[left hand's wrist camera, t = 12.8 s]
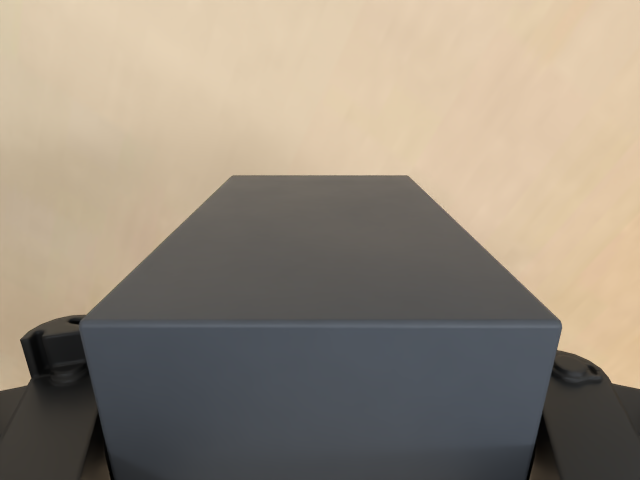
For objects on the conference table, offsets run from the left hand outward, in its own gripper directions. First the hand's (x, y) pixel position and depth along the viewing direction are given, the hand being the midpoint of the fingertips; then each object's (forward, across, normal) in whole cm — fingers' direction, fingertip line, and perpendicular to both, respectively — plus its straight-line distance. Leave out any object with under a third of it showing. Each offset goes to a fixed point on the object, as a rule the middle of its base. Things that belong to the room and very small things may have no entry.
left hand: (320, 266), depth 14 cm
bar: (+1, 0, -8) cm, 8 cm away
